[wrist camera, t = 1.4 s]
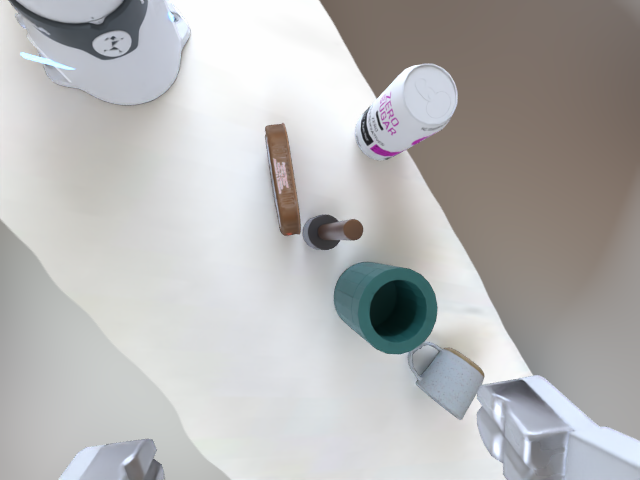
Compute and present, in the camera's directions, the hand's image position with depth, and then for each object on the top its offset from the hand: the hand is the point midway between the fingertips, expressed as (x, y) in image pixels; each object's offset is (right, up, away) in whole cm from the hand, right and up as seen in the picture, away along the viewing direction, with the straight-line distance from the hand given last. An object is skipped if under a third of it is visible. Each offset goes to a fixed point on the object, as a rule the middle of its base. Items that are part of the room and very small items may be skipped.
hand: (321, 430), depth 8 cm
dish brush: (0, +6, +41) cm, 41 cm away
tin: (-6, +13, +40) cm, 42 cm away
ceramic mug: (+18, -17, +45) cm, 52 cm away
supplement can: (+9, +21, +43) cm, 49 cm away
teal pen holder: (+7, -4, +43) cm, 43 cm away
